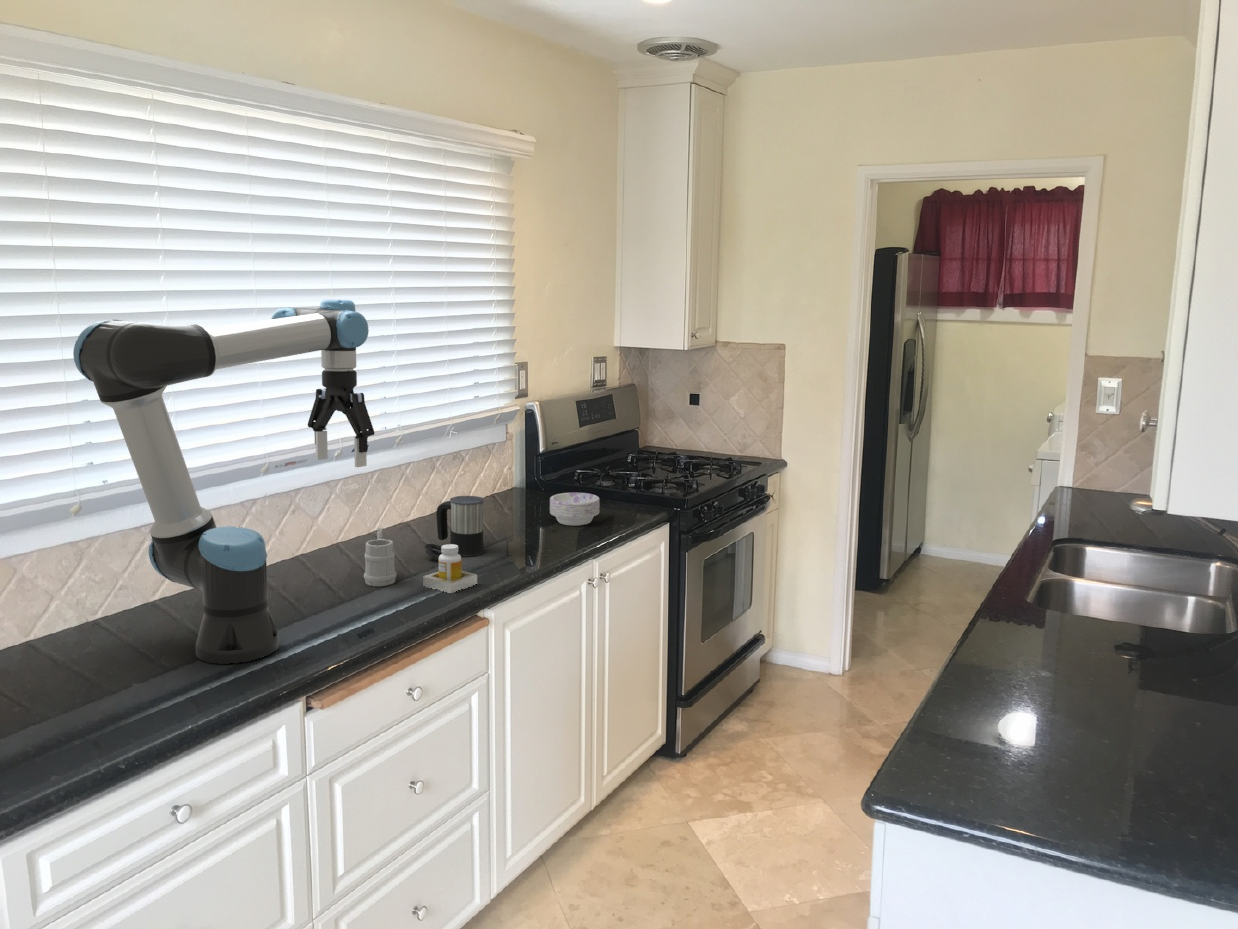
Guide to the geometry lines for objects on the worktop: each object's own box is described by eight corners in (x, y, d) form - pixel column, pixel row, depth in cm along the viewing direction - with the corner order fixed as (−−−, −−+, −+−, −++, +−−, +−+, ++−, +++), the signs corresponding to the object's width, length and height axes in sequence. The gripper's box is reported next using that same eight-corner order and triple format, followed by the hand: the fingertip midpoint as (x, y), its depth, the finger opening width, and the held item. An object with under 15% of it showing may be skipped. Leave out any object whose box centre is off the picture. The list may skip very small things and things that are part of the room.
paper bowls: (542, 525, 289) (542, 500, 288) (559, 514, 304) (560, 490, 302) (590, 530, 285) (590, 504, 284) (605, 519, 299) (606, 494, 298)
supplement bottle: (462, 582, 233) (462, 543, 231) (460, 589, 227) (459, 549, 226) (440, 582, 233) (440, 543, 231) (437, 588, 227) (436, 549, 226)
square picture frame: (450, 593, 224) (450, 583, 223) (423, 586, 229) (423, 576, 228) (477, 584, 231) (477, 574, 231) (449, 577, 236) (449, 567, 236)
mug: (363, 587, 227) (362, 538, 225) (365, 573, 238) (363, 526, 236) (396, 586, 229) (395, 537, 226) (396, 571, 240) (395, 525, 238)
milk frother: (488, 549, 263) (488, 496, 260) (473, 565, 247) (473, 509, 244) (438, 546, 264) (437, 493, 261) (419, 562, 249) (419, 506, 246)
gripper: (390, 372, 211) (390, 467, 215) (317, 365, 225) (319, 454, 229) (362, 374, 205) (364, 471, 209) (290, 366, 219) (292, 458, 223)
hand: (340, 462), depth 219 cm, fingers open, 13 cm apart
